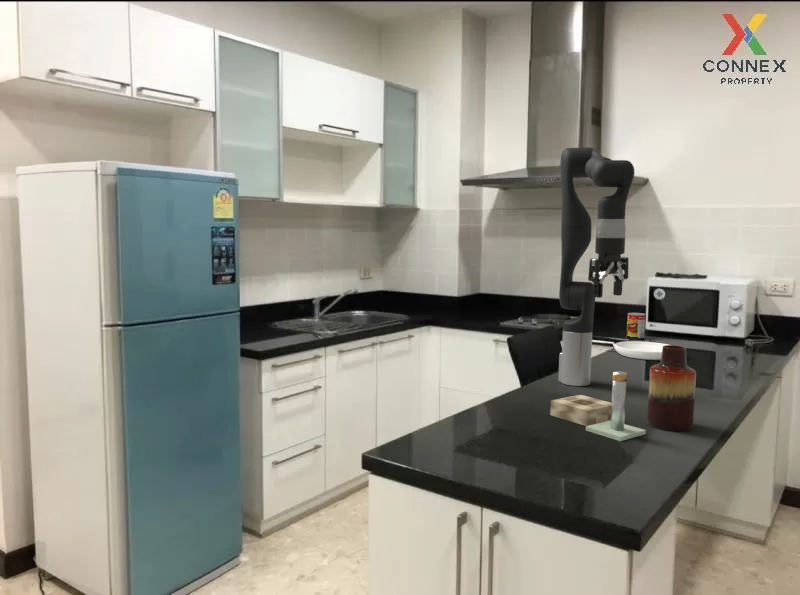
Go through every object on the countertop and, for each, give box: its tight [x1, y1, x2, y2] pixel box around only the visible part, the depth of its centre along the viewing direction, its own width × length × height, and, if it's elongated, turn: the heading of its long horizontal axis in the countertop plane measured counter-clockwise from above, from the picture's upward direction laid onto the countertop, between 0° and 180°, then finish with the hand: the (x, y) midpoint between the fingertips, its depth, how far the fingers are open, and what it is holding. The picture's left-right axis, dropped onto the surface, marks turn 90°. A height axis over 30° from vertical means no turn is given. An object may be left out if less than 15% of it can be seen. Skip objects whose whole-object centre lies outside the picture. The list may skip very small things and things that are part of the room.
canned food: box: [626, 312, 647, 339], centre depth 303 cm, size 8×8×12 cm
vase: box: [646, 344, 697, 433], centre depth 164 cm, size 11×11×20 cm
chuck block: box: [549, 394, 612, 427], centre depth 171 cm, size 12×12×4 cm
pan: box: [592, 339, 669, 361], centre depth 264 cm, size 25×39×4 cm, turn 60°
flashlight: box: [610, 370, 628, 431], centre depth 157 cm, size 3×3×14 cm
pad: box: [585, 420, 646, 442], centre depth 158 cm, size 10×10×1 cm
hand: (607, 296), depth 174 cm, fingers open, 8 cm apart
